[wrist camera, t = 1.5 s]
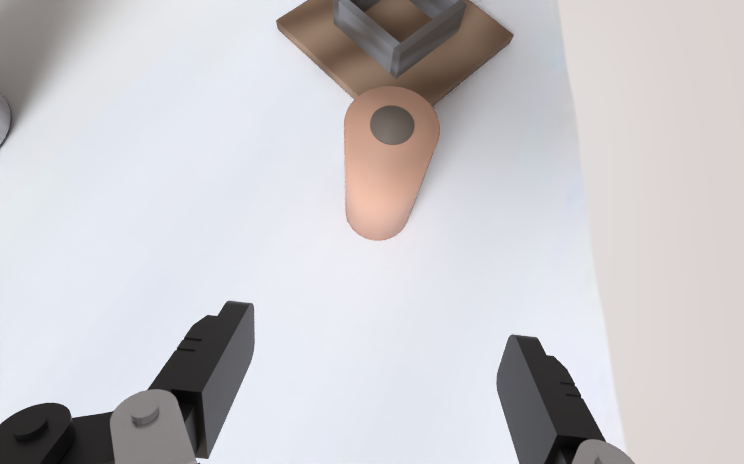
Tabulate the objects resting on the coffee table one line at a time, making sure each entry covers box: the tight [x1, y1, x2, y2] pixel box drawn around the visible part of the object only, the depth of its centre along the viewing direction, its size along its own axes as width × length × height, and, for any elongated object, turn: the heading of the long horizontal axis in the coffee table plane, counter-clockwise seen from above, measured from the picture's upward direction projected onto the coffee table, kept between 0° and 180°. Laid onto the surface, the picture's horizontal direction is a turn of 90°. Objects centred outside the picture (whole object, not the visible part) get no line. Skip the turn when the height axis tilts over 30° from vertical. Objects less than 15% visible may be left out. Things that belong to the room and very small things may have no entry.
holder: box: [276, 0, 513, 106], centre depth 37 cm, size 16×16×4 cm
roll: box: [344, 86, 440, 240], centre depth 27 cm, size 5×5×12 cm
